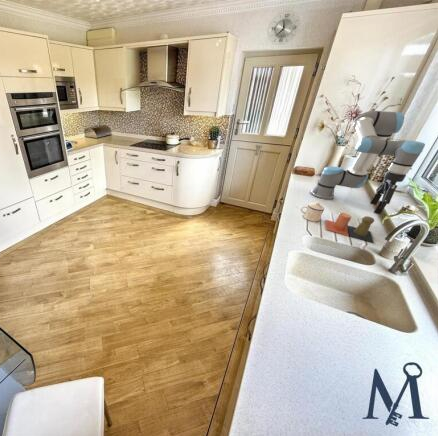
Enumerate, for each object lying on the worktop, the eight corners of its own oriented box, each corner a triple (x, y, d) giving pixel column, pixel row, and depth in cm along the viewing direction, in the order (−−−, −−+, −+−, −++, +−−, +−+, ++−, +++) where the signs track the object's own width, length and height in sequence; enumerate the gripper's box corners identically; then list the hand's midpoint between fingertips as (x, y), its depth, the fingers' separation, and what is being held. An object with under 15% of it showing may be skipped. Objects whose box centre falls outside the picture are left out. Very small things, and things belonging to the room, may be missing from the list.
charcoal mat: (347, 226, 147) (347, 225, 147) (369, 232, 142) (369, 231, 142) (349, 236, 137) (349, 235, 137) (373, 243, 132) (373, 242, 132)
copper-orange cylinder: (332, 224, 148) (339, 211, 143) (344, 227, 145) (351, 214, 140) (333, 228, 143) (339, 215, 139) (345, 231, 140) (352, 218, 136)
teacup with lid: (318, 217, 156) (326, 202, 150) (319, 223, 149) (327, 207, 143) (298, 212, 161) (304, 197, 155) (297, 218, 154) (304, 202, 148)
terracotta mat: (325, 220, 152) (326, 219, 152) (346, 226, 147) (346, 225, 147) (326, 230, 142) (326, 229, 142) (348, 236, 137) (348, 235, 137)
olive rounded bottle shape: (368, 236, 136) (378, 220, 131) (357, 235, 137) (366, 219, 132) (362, 231, 141) (372, 215, 136) (351, 229, 142) (360, 214, 137)
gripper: (413, 181, 109) (387, 219, 120) (400, 167, 127) (379, 202, 138) (392, 177, 113) (369, 215, 124) (383, 165, 131) (363, 198, 142)
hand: (374, 208), depth 131 cm, fingers open, 13 cm apart
